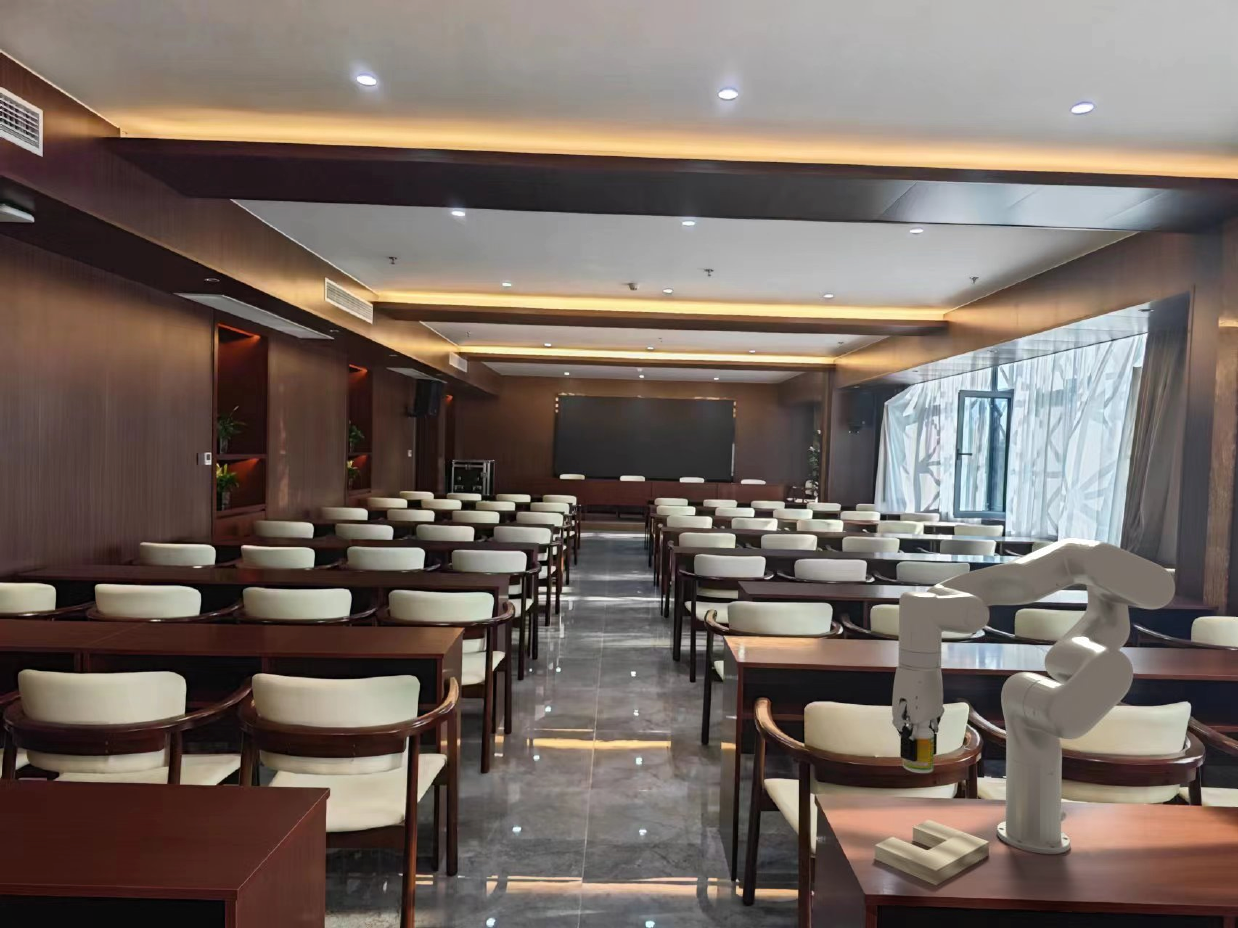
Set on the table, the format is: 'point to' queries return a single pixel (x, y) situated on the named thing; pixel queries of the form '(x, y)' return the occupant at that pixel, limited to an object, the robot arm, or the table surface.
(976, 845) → the notched board
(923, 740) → the supplement bottle
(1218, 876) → the table surface
